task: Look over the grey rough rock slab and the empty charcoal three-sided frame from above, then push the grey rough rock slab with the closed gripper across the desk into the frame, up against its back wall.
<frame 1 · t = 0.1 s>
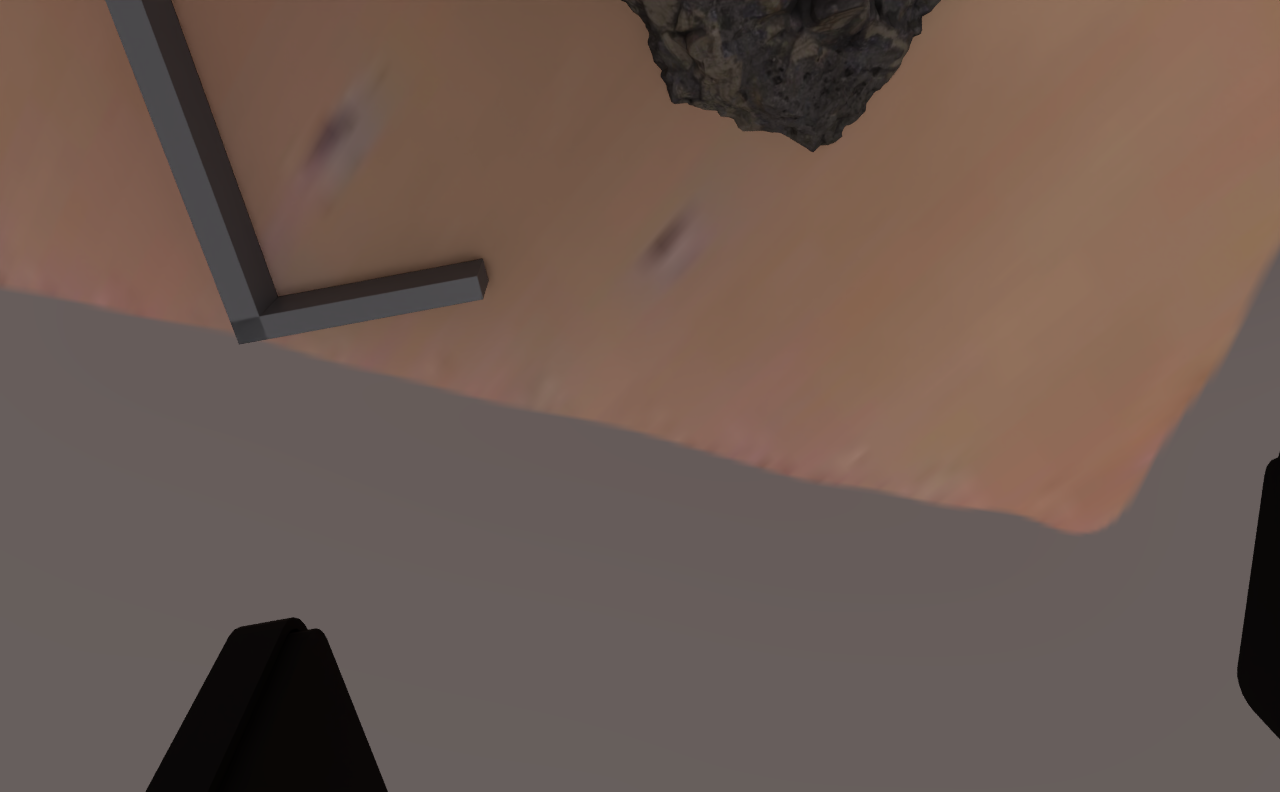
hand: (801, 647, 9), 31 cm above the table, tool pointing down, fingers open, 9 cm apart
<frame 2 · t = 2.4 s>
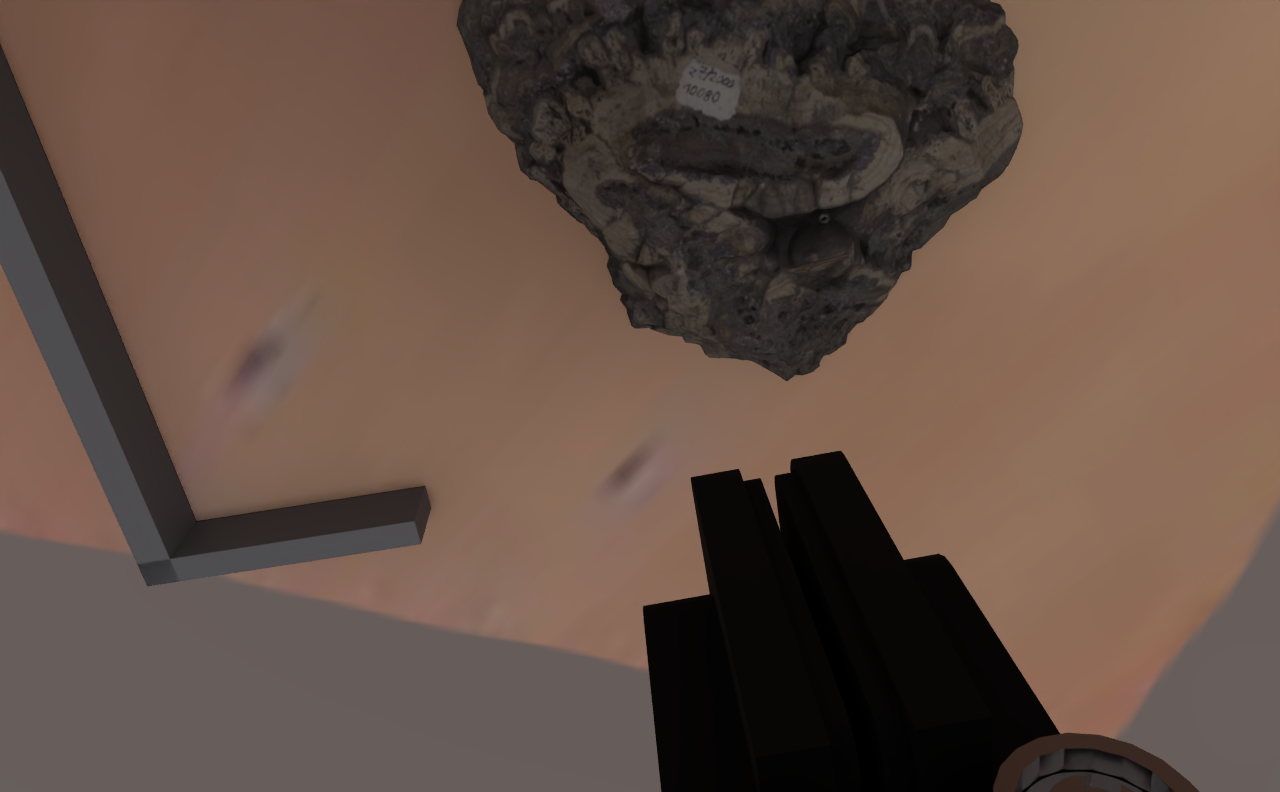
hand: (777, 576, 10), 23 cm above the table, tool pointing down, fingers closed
grey rough rock slab: (724, 151, 31), on the table
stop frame: (380, 217, 31), on the table
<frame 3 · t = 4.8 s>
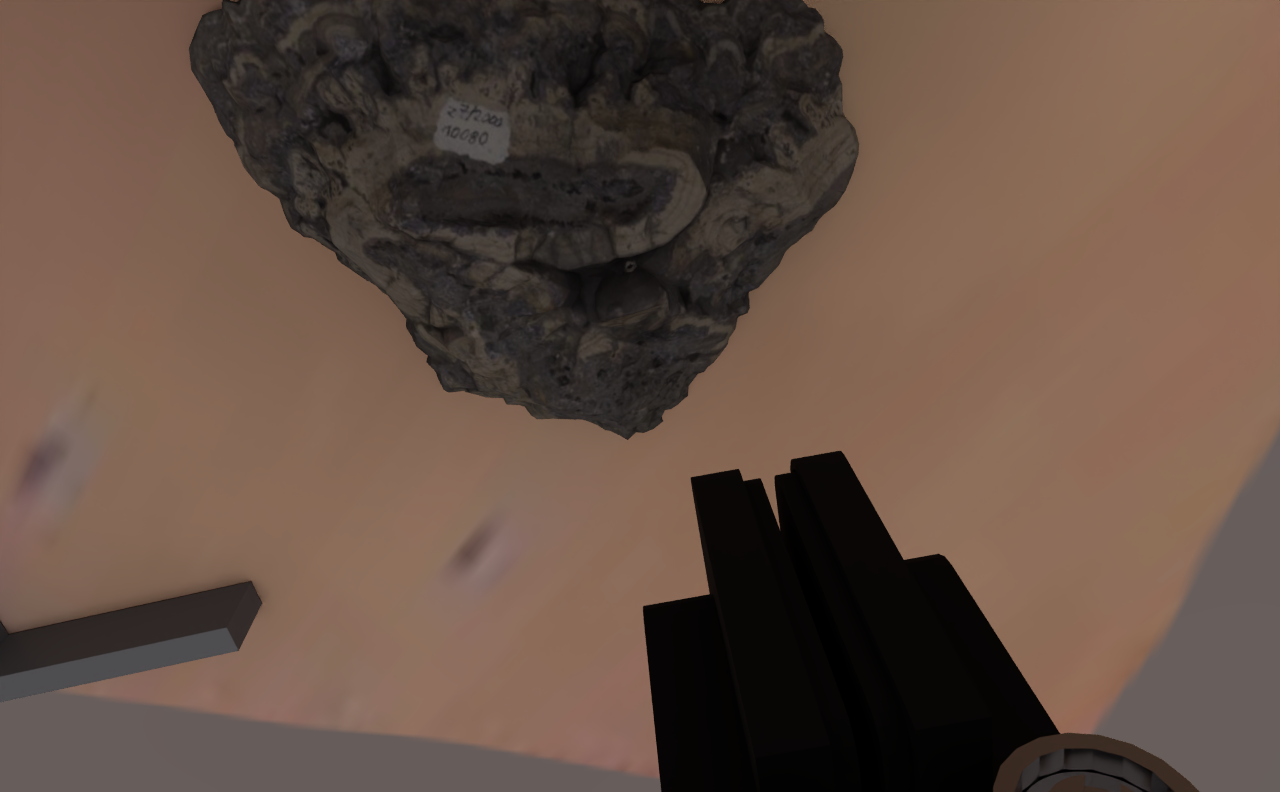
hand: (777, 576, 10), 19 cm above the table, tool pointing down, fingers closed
grey rough rock slab: (526, 192, 28), on the table
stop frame: (147, 301, 28), on the table
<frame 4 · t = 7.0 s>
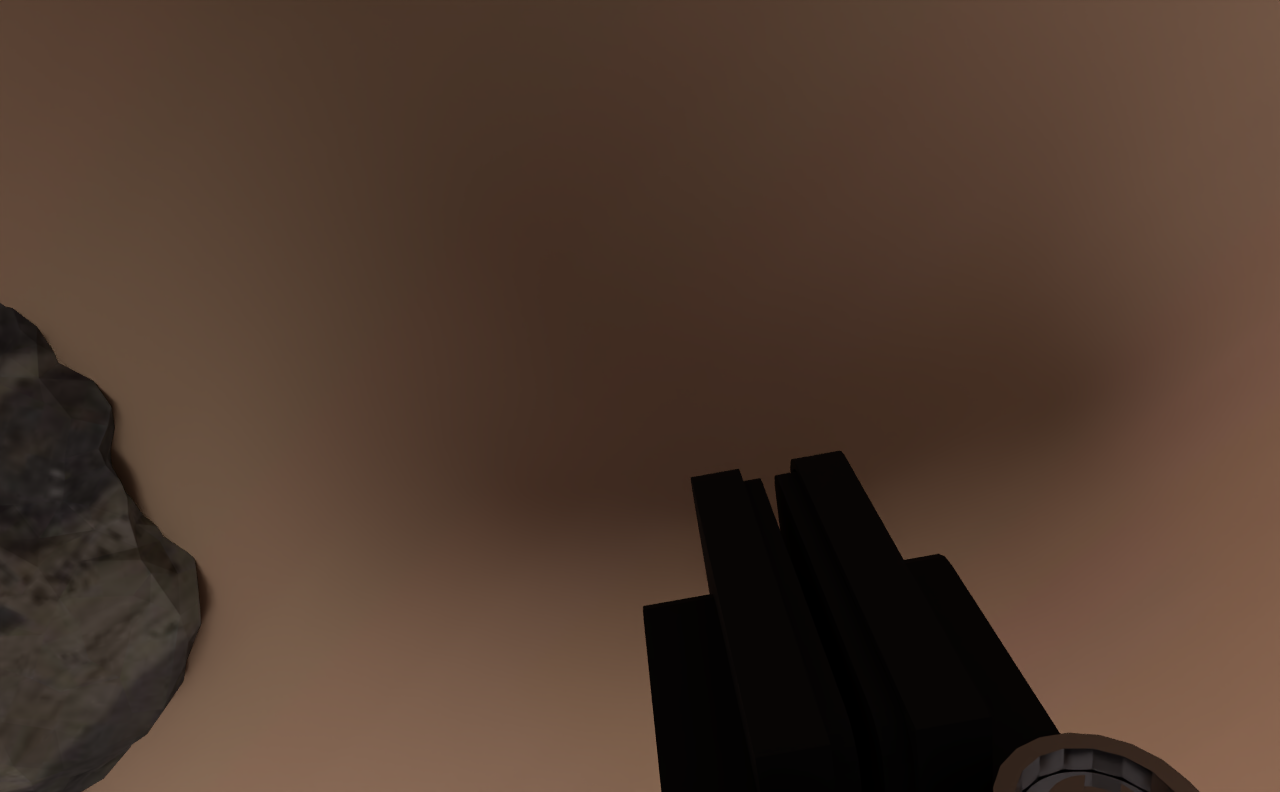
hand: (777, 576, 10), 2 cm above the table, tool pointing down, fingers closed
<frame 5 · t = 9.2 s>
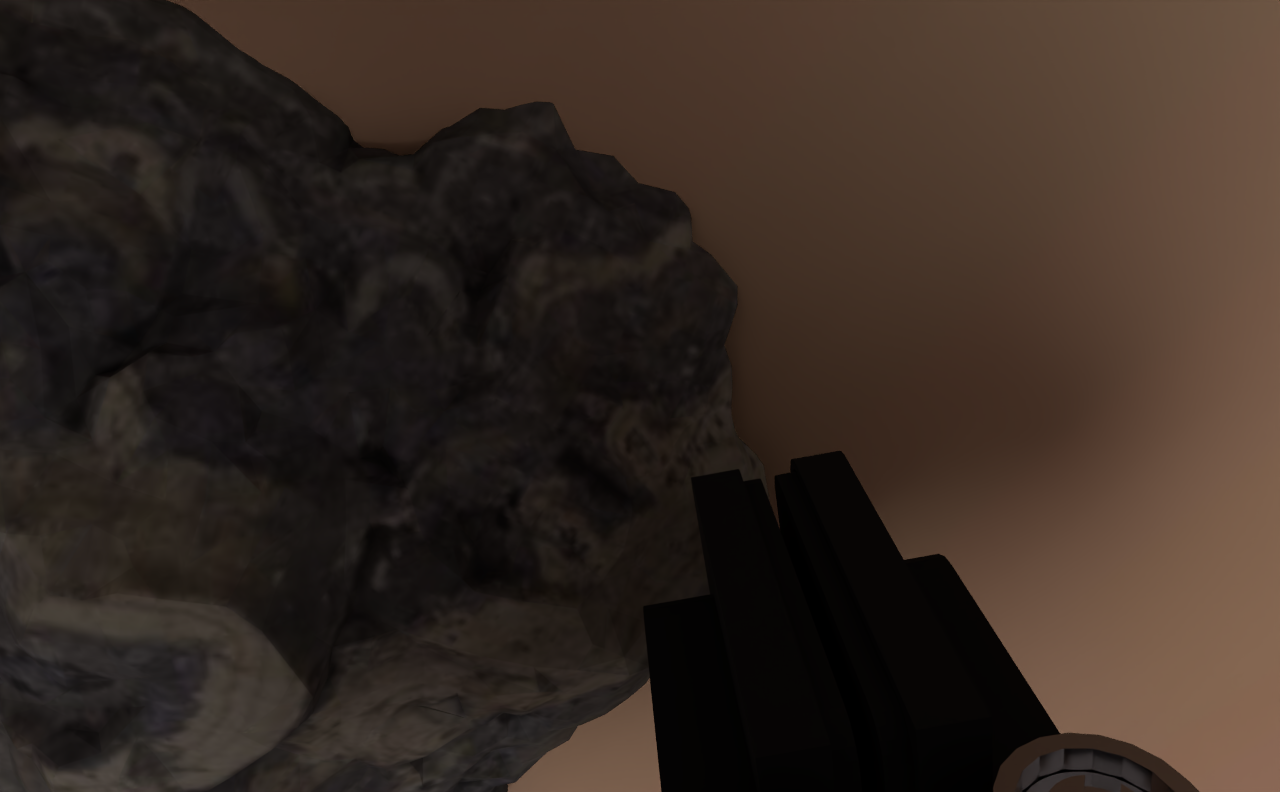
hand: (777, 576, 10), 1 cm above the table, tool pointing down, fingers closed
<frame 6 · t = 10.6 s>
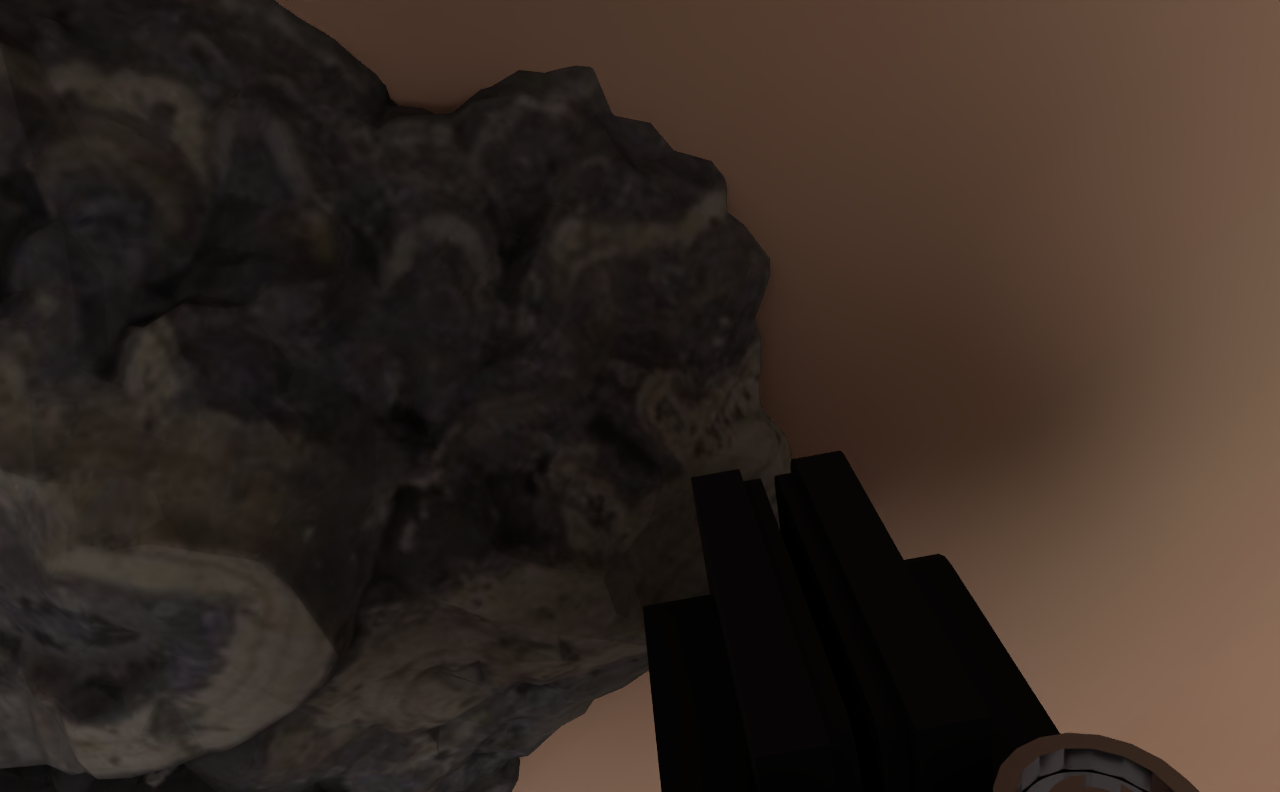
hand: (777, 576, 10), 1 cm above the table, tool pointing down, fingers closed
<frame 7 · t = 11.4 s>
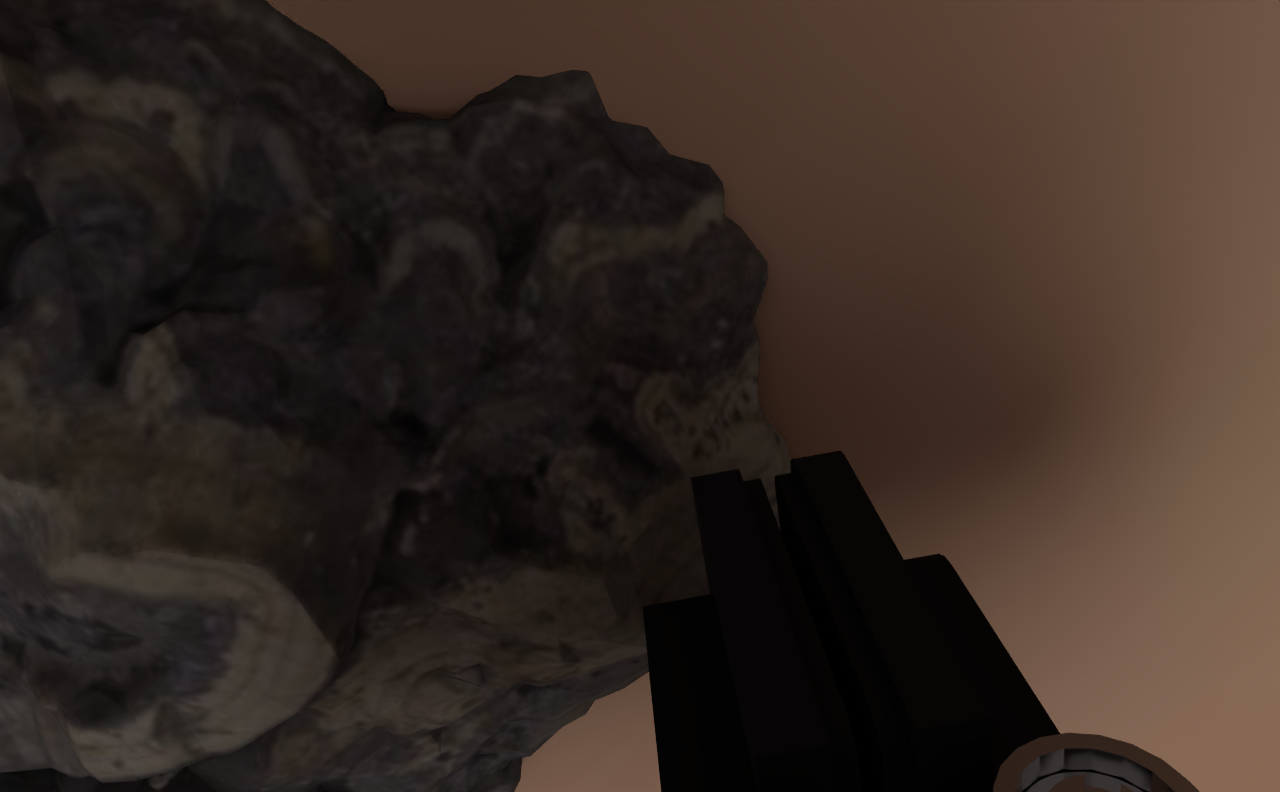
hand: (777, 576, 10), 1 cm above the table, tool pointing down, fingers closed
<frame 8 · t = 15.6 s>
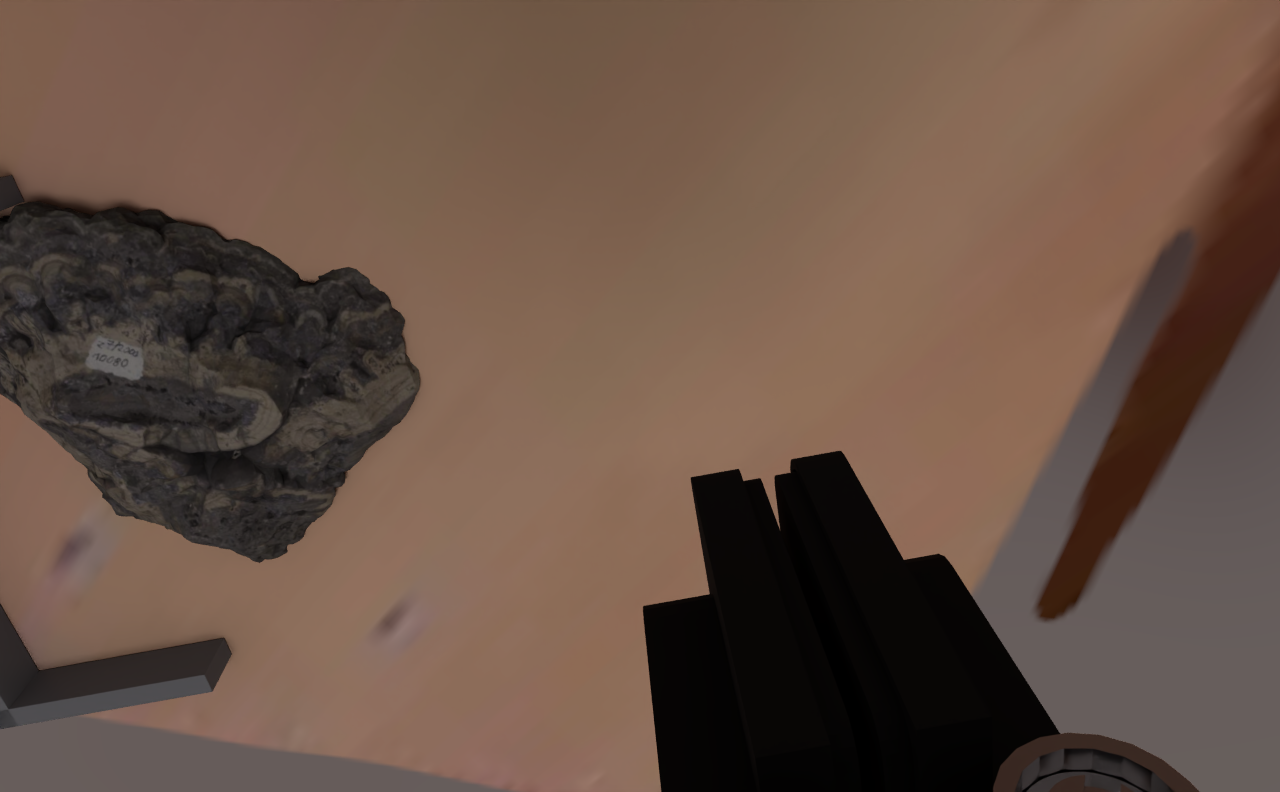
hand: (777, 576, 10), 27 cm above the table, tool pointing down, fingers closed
grey rough rock slab: (183, 384, 38), on the table
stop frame: (158, 440, 38), on the table
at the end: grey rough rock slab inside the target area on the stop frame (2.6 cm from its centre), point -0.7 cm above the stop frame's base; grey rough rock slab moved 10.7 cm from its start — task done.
